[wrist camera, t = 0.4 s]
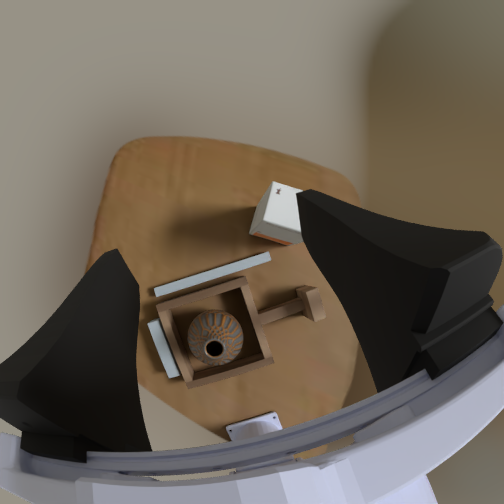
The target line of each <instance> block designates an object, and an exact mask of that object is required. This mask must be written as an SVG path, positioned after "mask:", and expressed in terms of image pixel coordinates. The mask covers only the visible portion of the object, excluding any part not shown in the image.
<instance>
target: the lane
mask: <svg viewBox="0 0 504 504" xmlns="http://www.w3.org/2000/svg"><path fill="white" fill-rule="evenodd" d="M270 260H271V258H270V255H269V252H266V253H262V254H259V255H256V256H253V257H250V258H247V259H244V260H241V261H238V262H235V263H231V264H228V265H225V266H222V267H219V268H216V269H213V270H210V271H207V272H203V273H200V274H197V275H194V276H191V277H188V278H185V279H182V280H178V281H175V282H172V283H169V284H166V285H163V286H160V287H156V288H154V291H155V294H156V297H158V296H161V295H165V294H168V293H171V292H174V291H177V290H180V289H184V288H187V287H190V286H193V285H196V284H199V283H203V282H206V281H209V280H212V279H215V278H218V277H221V276H224V275H227V274H231V273H234V272H237V271H240V270H243V269H246V268H249V267H252V266H255V265H258V264H261V263H264V262H267V261H270ZM147 324H148V327H149V329H150V332H151V335H152V338H153V340H154V343H155V345H156V348H157V350H158V353H159V355H160V358H161V360H162V363H163V365H164V367H165V370H166V372H167V374H168V377H169V378H172V377H176V376H180V374H181V371H180V369H179V366H178V364H177V361H176V359H175V356H174V354H173V351H172V349H171V346H170V344H169V341H168V338H167V336H166V333H165V330H164V328H163V325H162V322H161V319H160V318H158V319H154V320H151V321H150V322H149V323H147Z"/></svg>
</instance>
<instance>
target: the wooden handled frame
mask: <svg viewBox="0 0 504 504" xmlns="http://www.w3.org/2000/svg"><path fill="white" fill-rule="evenodd" d="M239 287H240V289H241V292H242V295H243V298H244V301H245V304H246V307H247V310H248V313H249V316H250V319H251V322H252V325H253V328H254V331H255V334H256V337H257V340H258V343H259V346H260V349H261V353H258V354H255V355H252V356H249V357H246V358H243V359H240V360H237V361H233V362H230V363H227V364H224V365H220V366H217V367H214V368H210V369H207V370H203V371H199V372H196V373H194V371H193V368H192V366H191V363H190V361H189V358H188V356H187V353H186V351H185V348H184V346H183V343H182V340H181V338H180V335H179V332H178V330H177V327H176V324H175V321H174V319H173V316H172V313H171V310H170V309H172V308H175V307H179V306H182V305H185V304H188V303H192V302H195V301H198V300H201V299H204V298H208V297H211V296H214V295H217V294H220V293H223V292H226V291H229V290H232V289H235V288H239ZM295 290H296V293H297V296H298V298H295V299H293V300H290V301H287V302H284V303H281V304H279V305H276V306H273V307H270V308H267V309H264V310H261V311H259V312H257V309H256V306H255V303H254V300H253V297H252V294H251V291H250V288H249V285H248V282H247V279H246V277H245V276H242V277H239V278H236V279H233V280H230V281H227V282H224V283H221V284H217V285H214V286H211V287H208V288H205V289H202V290H199V291H196V292H192V293H189V294H186V295H183V296H180V297H176V298H173V299H170V300H167V301H164V302H160V303H159V304H157V305H156V308H157V311H158V314H159V317H160V319H161V322H162V325H163V328H164V330H165V333H166V336H167V338H168V341H169V344H170V346H171V349H172V351H173V354H174V356H175V359H176V361H177V364H178V366H179V369H180V371H181V373H182V376H183V378H184V380H185V383H186V385H187V387H188V389H190V388H194V387H198V386H202V385H205V384H209V383H213V382H216V381H220V380H223V379H226V378H230V377H233V376H236V375H240V374H243V373H246V372H249V371H252V370H255V369H258V368H261V367H264V366H267V365H270V364H272V363H274V360H273V357H272V354H271V351H270V348H269V345H268V342H267V339H266V336H265V333H264V330H263V327H262V325H264V324H267V323H270V322H272V321H275V320H278V319H281V318H284V317H286V316H289V315H292V314H295V313H297V312H300V311H302V312H303V316H305V317H307V318H309V319H310V320H312V321H314V322H316V321H319V320H321V319H324V318H326V314H325V311H324V307H323V304H322V300H321V297H320V294H319V290H318V288H317V287H312V286H307V285H305V286H303V287H300V288H297V289H295Z"/></svg>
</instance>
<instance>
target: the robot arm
mask: <svg viewBox="0 0 504 504" xmlns="http://www.w3.org/2000/svg"><path fill="white" fill-rule="evenodd" d="M296 198H297V205H298V213H299V220H300V228H301V236H302V239H303V241H304V243H305V245H306V247H307V249H308V251H309V253H310V255H311V257H312V259H313V260H314V262H315V263H316V265H317V266H318V268H319V269H320V271H321V272H322V274H323V275H324V277H325V278H326V280H327V281H328V283H329V284H330V286H331V287H332V289H333V291H334V292H335V294H336V295H337V297H338V298H339V300H340V302H341V304H342V305H343V307H344V310H345V312H346V314H347V316H348V318H349V320H350V322H351V324H352V326H353V329H354V331H355V333H356V336H357V338H358V340H359V343H360V345H361V347H362V350H363V352H364V355H365V358H366V360H367V363H368V366H369V368H370V371H371V374H372V377H373V380H374V383H375V386H376V389H377V392H378V394H375V395H373V396H371V397H369V398H367V399H364V400H362V401H360V402H358V403H355V404H353V405H350V406H348V407H346V408H343V409H341V410H338V411H335V412H333V413H330V414H327V415H325V416H322V417H319V418H316V419H313V420H310V421H307V422H304V423H301V424H298V425H295V426H292V427H288V428H285V429H282V427H281V424H280V421H279V419H278V416H277V414H276V412H270V413H267V414H264V415H261V416H258V417H255V418H252V419H249V420H245V421H242V422H238V423H235V424H231V425H228V426H226V430H227V432H228V434H229V436H230V438H231V440H232V441H231V442H226V443H221V444H214V445H208V446H201V447H195V448H186V449H177V450H166V451H152V449H151V445H150V442H149V439H148V435H147V431H146V428H145V423H144V419H143V414H142V409H141V404H140V397H139V390H138V381H137V369H136V349H137V336H138V324H139V312H140V293H139V284H138V283H137V281H136V280H135V278H134V276H133V275H132V273H131V271H130V270H129V268H128V266H127V265H126V263H125V261H124V260H123V258H122V256H121V254H120V253H119V251H118V249H114V250H111V251H108V252H106V253H104V254H103V255H102V256H101V257H100V258H99V259H98V260H97V261H96V262H95V263H94V264H93V265H92V267H91V268H90V269H89V270H88V272H87V273H86V274H85V275H84V277H83V278H82V279H81V281H80V282H79V283H78V284H77V286H76V287H75V288H74V289H73V290H72V292H71V293H70V294H69V295H68V297H67V298H66V299H65V300H64V302H63V303H62V304H61V306H60V307H59V308H58V309H57V310H56V312H55V313H54V314H53V315H52V316H51V317H50V318H49V319H48V320H47V322H46V323H45V324H44V325H43V326H42V327H41V328H40V329H39V330H38V331H37V332H36V333H35V334H34V335H33V336H32V337H31V338H30V339H29V340H28V341H27V342H26V343H25V344H24V345H23V346H21V347H20V348H19V349H18V350H17V351H16V352H15V353H14V354H12V355H11V356H10V357H9V358H8V359H6V360H5V361H4V362H2V363H1V364H0V418H2V419H3V420H5V421H6V422H8V423H9V424H11V425H12V426H14V427H16V428H17V429H19V430H21V431H22V437H19V436H16V435H13V434H8V433H3V432H2V433H1V434H0V487H1V488H3V489H5V490H7V491H8V492H10V493H13V494H14V495H16V496H19V497H20V498H22V499H24V500H26V501H28V502H30V503H32V504H438V503H437V501H436V498H435V495H434V493H433V491H432V488H431V486H430V483H429V481H428V478H427V476H426V474H427V473H428V472H430V471H431V470H433V469H434V468H435V467H437V466H438V465H440V464H441V463H442V462H444V461H445V460H446V459H448V458H449V457H450V456H452V455H453V454H454V453H455V452H457V451H458V450H459V449H460V448H462V447H463V446H464V445H465V444H466V443H468V442H469V441H470V440H471V439H472V438H473V437H475V436H476V435H477V434H478V433H479V432H480V431H481V430H482V429H483V428H484V427H485V426H486V425H487V424H488V423H490V422H491V420H493V419H494V418H495V417H496V416H497V414H499V412H500V411H501V410H502V409H503V408H504V304H503V305H502V306H501V307H500V308H499V309H498V310H497V312H495V311H494V310H493V309H492V307H491V306H492V305H493V302H494V301H493V299H492V298H491V297H490V295H489V294H488V293H489V291H490V288H491V287H492V284H493V282H494V280H495V278H496V276H497V274H498V271H499V268H500V266H501V262H502V248H501V247H500V245H499V244H497V243H496V242H495V241H494V240H493V239H492V238H491V237H490V236H489V235H487V234H486V233H485V232H481V231H464V230H452V229H444V228H436V227H430V226H424V225H419V224H415V223H409V222H405V221H401V220H397V219H394V218H390V217H387V216H383V215H380V214H376V213H374V212H371V211H368V210H365V209H362V208H359V207H357V206H354V205H351V204H349V203H346V202H344V201H341V200H339V199H336V198H334V197H331V196H329V195H326V194H324V193H321V192H318V191H315V190H312V189H310V190H306V191H302V192H298V193H296ZM274 416H275V418H273V417H274ZM229 430H232V431H229ZM356 432H357V433H356ZM353 433H355V435H354V436H353V438H354V440H355V441H354V442H353V443H352V444H351V445H350V446H347V447H344V448H341V449H338V450H335V451H332V452H329V453H326V454H322V455H319V456H315V457H312V458H308V459H305V460H304V459H302V458H300V457H299V458H296V459H295V460H294V457H293V454H297V453H300V452H303V451H307V450H310V449H313V448H316V447H319V446H322V445H325V444H327V443H330V442H333V441H335V440H338V439H341V438H343V437H346V436H348V435H351V434H353ZM232 468H236V472H235V471H233V472H230V473H229V475H226V476H219V477H211V478H202V479H191V480H178V481H159V480H156V479H153V478H151V477H142V476H161V475H162V476H163V475H182V474H194V473H203V472H212V471H219V470H226V469H232Z"/></svg>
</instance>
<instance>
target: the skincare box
mask: <svg viewBox="0 0 504 504" xmlns="http://www.w3.org/2000/svg"><path fill="white" fill-rule="evenodd" d="M298 192H302V190H300V189H295V188H292V187H289V186H286V185H283V184H280V183H277V182H272V183H271V185H270V187H269V188H268V189H267V191H266V193H265V194H264V196H263V197H262V199H261V200H260V202H259V203H258V205H257V207H256V211H255V214H254V217H253V221H252V224H251V228H250V231H249V234H251V235H255V236H258V237H262V238H265V239H269V240H272V241H275V242H278V243H281V244H284V245H287V246H290V245H294V244H297V243H301V242H304V241H303V239H302V236H301V228H300V220H299V213H298V205H297V198H296V193H298Z"/></svg>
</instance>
